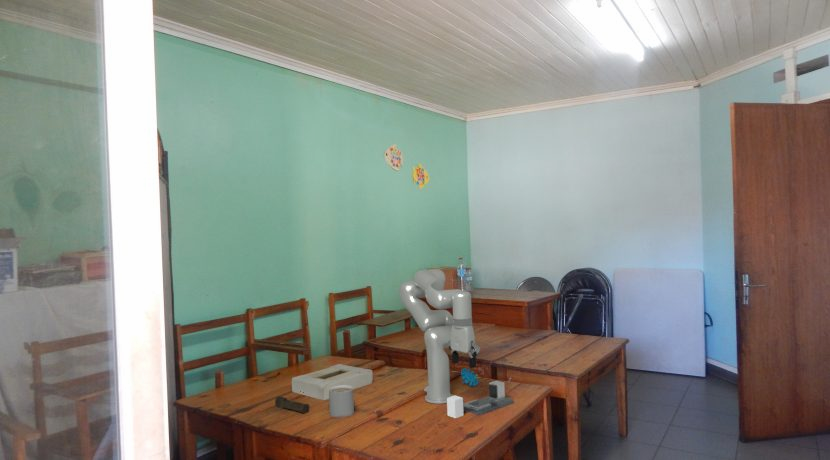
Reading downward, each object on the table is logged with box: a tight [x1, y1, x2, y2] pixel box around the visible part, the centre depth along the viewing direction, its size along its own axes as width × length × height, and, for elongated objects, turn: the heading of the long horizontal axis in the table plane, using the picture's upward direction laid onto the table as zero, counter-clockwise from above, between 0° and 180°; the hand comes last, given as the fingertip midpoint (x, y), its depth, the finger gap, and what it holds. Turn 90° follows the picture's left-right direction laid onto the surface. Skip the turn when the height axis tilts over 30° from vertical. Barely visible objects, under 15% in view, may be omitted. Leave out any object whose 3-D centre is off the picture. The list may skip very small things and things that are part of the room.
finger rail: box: [464, 380, 514, 416], centre depth 216 cm, size 10×21×8 cm, turn 130°
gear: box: [460, 367, 479, 388], centre depth 248 cm, size 11×6×10 cm
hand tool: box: [274, 396, 310, 415], centre depth 221 cm, size 19×4×5 cm, turn 53°
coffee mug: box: [328, 385, 355, 418], centre depth 216 cm, size 13×10×10 cm
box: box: [291, 363, 374, 401], centre depth 251 cm, size 23×8×32 cm
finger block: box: [446, 395, 465, 419], centre depth 207 cm, size 4×5×7 cm
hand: (463, 365), depth 208 cm, fingers open, 9 cm apart
